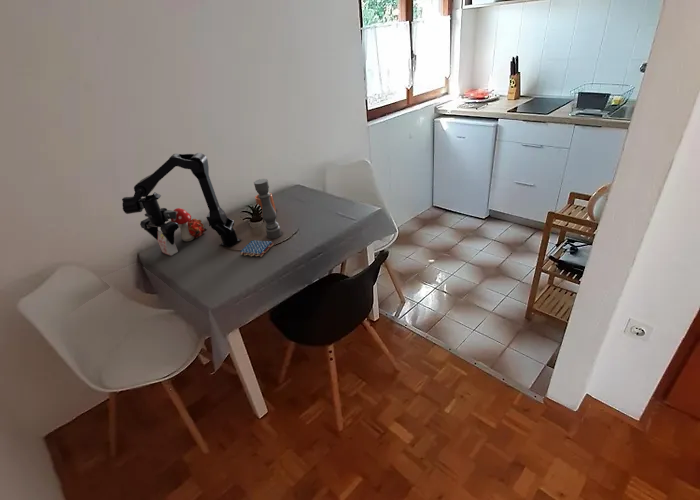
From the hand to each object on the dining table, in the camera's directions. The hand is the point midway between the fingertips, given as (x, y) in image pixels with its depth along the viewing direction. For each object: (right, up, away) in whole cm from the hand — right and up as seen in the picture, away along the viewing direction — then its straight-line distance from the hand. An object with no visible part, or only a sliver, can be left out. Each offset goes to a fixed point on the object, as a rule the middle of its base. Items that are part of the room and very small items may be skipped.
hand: (166, 242), depth 179 cm
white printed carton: (+1, -4, +2) cm, 5 cm away
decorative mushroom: (+4, +9, +8) cm, 12 cm away
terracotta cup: (+39, +15, +26) cm, 49 cm away
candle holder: (+46, +3, +3) cm, 46 cm away
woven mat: (+41, -3, -7) cm, 42 cm away
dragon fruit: (+9, +3, +13) cm, 16 cm away
